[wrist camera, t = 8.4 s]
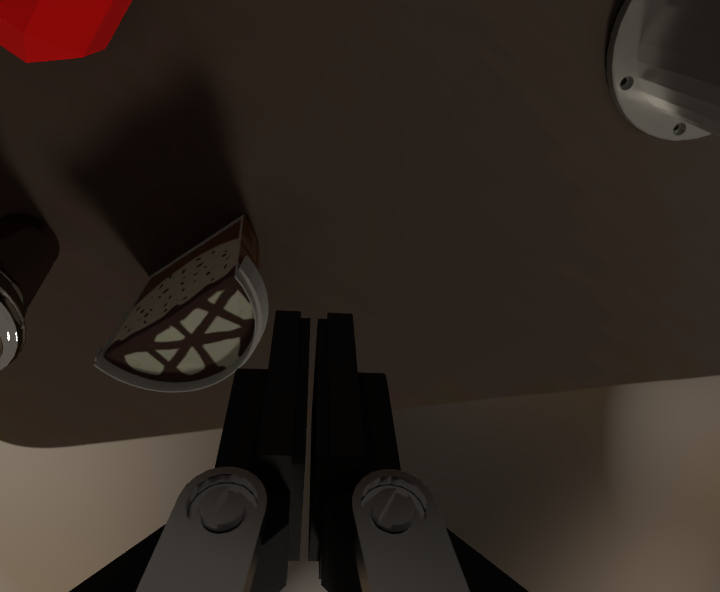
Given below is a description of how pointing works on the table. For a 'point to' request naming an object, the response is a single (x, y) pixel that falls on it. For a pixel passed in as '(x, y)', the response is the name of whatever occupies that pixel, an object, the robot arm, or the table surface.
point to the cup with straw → (21, 276)
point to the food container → (193, 317)
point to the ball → (58, 27)
